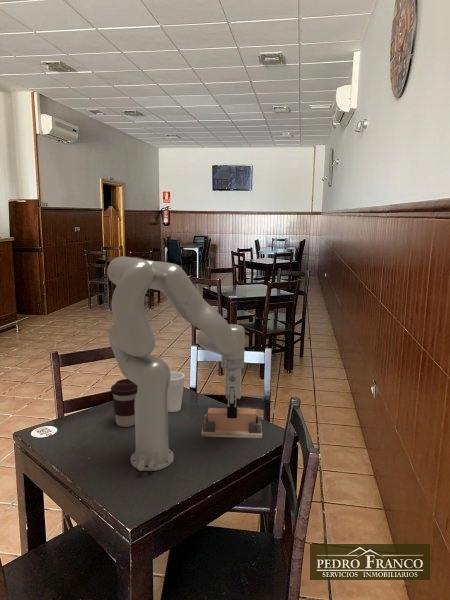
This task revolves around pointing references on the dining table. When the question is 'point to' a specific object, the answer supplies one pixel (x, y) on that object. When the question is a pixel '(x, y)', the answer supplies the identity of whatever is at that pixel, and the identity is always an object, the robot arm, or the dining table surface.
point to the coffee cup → (124, 402)
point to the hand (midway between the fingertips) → (232, 413)
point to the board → (253, 432)
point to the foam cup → (175, 391)
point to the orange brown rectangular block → (232, 419)
